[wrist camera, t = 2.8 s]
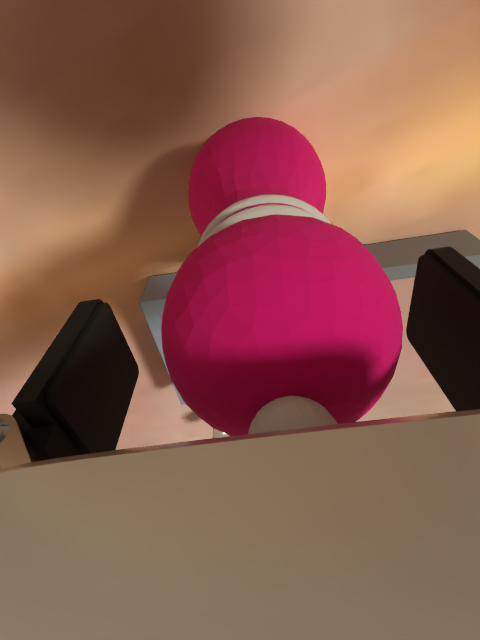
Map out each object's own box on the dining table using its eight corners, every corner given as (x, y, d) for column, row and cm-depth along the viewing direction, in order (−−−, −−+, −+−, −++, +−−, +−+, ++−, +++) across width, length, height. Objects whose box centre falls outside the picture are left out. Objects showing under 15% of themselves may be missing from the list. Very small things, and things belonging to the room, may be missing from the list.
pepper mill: (202, 230, 24) (136, 571, 8) (189, 111, 19) (-27, 333, 3) (305, 226, 24) (449, 562, 8) (314, 104, 19) (693, 303, 3)
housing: (149, 276, 26) (139, 302, 23) (465, 229, 24) (496, 252, 21) (186, 375, 32) (181, 404, 30) (435, 345, 30) (455, 373, 27)
